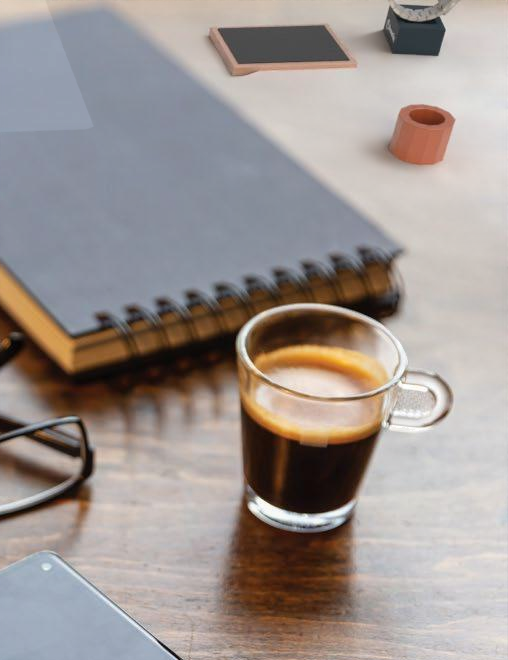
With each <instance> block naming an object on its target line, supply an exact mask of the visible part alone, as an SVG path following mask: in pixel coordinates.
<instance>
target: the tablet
mask: <svg viewBox="0 0 508 660" xmlns="http://www.w3.org/2000/svg"><path fill="white" fill-rule="evenodd" d="M208 36H209V38H210V39H211V41H212V43H213V45H214V46H215V48H216V50H217V52H218V54H219V55H220V57H221V59H222V60H223V63H225V66H226V67H227V68H228V70H229V72H230V74H231V75H232V76H249V75H252V74H254V73H257V72H260V71H261V72H262V71H288V70H289V71H291V70H292V71H293V70H294V71H295V70H296V71H297V70H317V69H318V70H321V69H322V70H324V69H326V70H327V69H357V67H358V61H356V59H355V58H354V57H353V55H352V54H351V53H350V51H349V50H348V48H347V47H346V46H345V45H344V43H343V42H342V41H341V38H339V37H338V35H337V34H336V33H335V31H334V30H333V29H332V27H331V26H330V25H329V24H328V23H306V24H305V23H301V24H300V23H299V24H271V25H269V24H266V25H235V26H234V25H233V26H210V27H209V32H208Z"/></svg>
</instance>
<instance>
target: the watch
mask: <svg viewBox="0 0 508 660" xmlns="http://www.w3.org/2000/svg"><path fill="white" fill-rule="evenodd" d="M387 1H388V4H389V6H388V9H387V12H386V13H387V14H386V17H385V18H386V19H385V21H384V25H383V29H382V31H383V33H384V36H385V38H386V41H387V43H388V47H389V48H390V52H391V54H392V55H406V56H407V55H409V56H410V55H411V56H426V57H427V56H428V57H429V56H430V57H439V55H440V52H441V48H442V45H443V41H444V37H445V34H446V31H447V29H446V27H445V24H444V22H443V20H442V18H441V16H446V15H447V14H449V12H450V11H452V10H453V9H454V8H455V7H456V6H457V5H458V3H459V2H460V1H461V0H437V3H435V4H434V5H424V4H423V5H420V4H419V5H418V4H401V3H400V4H399V3H398V2H396V0H387Z"/></svg>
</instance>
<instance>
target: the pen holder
mask: <svg viewBox="0 0 508 660" xmlns="http://www.w3.org/2000/svg"><path fill="white" fill-rule="evenodd" d="M455 123H456V118H455V117H454V116H453V115H452V114H451V113H450V112H449V111H447V110H445V109H443V108H441V107H438V106H434V105H430V104H424V103H423V104H422V103H421V104H420V103H419V104H409V105H407V106H403V107H401V108H400V109H399V111H398V114H397V118H396V121H395V125H394V128H393V131H392V136H391V139H390V143H389V147H388V150H389V152H390V154H391V155H392V156H393V157H395V158H397V159H398V160H400V161H403V162H405V163H409V164H413V165H417V166H424V165H425V166H427V165H429V166H431V165H436V164H438V163H440V162H442V161H443V160H444V158H445V154H446V152H447V149H448V146H449V142H450V140H451V136H452V133H453V129H454V127H455Z"/></svg>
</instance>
